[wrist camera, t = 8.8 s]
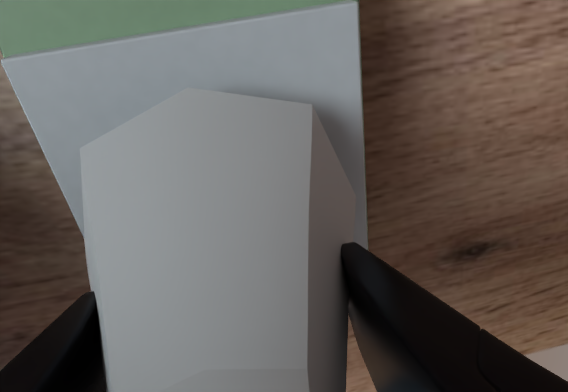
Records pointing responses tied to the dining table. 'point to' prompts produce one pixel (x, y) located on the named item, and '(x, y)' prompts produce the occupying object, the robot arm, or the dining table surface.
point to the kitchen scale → (180, 69)
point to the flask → (219, 247)
